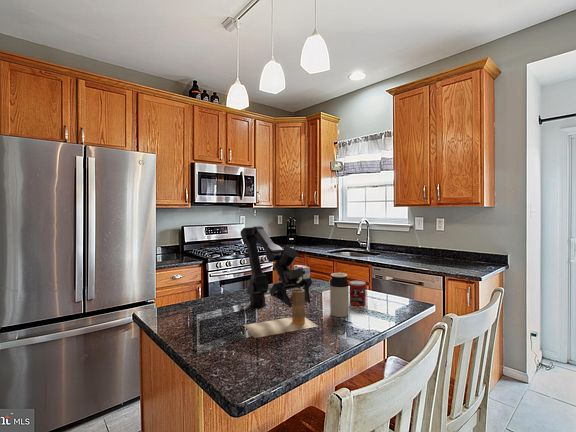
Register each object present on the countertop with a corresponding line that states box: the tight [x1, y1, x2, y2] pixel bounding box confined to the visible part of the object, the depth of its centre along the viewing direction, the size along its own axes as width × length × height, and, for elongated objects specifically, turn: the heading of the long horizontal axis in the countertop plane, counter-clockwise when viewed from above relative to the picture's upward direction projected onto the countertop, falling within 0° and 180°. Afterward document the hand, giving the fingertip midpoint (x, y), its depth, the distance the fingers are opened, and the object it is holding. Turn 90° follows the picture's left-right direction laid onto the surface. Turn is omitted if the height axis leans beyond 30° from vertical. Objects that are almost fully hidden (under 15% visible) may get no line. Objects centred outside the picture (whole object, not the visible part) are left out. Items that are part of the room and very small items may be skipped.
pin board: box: [243, 316, 319, 339], centre depth 124 cm, size 26×14×5 cm, turn 114°
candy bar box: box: [293, 264, 311, 296], centre depth 171 cm, size 11×5×16 cm, turn 25°
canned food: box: [349, 280, 367, 308], centre depth 155 cm, size 8×8×11 cm
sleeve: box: [291, 288, 306, 325], centre depth 127 cm, size 5×5×13 cm
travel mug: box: [329, 272, 350, 318], centre depth 140 cm, size 8×8×18 cm
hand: (300, 304), depth 126 cm, fingers open, 9 cm apart
